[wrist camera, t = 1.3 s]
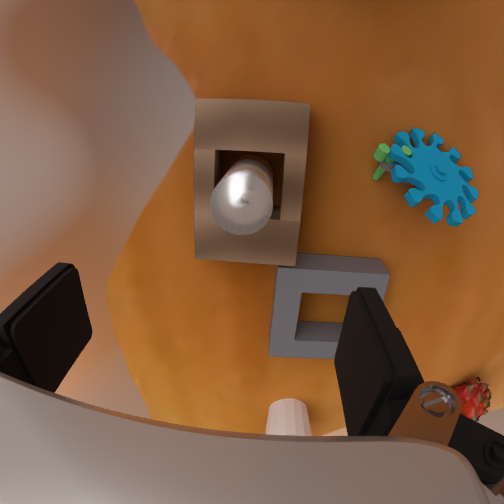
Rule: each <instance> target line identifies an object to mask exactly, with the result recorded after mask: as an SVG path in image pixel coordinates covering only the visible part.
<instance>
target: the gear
mask: <svg viewBox="0 0 504 504" xmlns="http://www.w3.org/2000/svg"><path fill="white" fill-rule="evenodd" d="M424 136H425V133H424V131H423V130H421V129H418V128H415V127H414V128H413V129H412V131H411V132H410V137H411V138H412V140H413V141H414V144H415V148H414V147H413V146H412V145H411V144H410V137H409V135H408V133H406V132H404V131H402V132H398V133H397V134H396V136H395V137H394V141H395V142H396V143H397V144H398V145H397V144H393V145H392V147H391V148H389V147H388V145H386V144H384V143H381V144H380V145H379V146H378V148H377V149H376V151H375V152H374V154H373V156H374V158H375V159H376V160H377V161H378V164H379V167H378V168H377V169H376V171H375V172H374V174H373V175H372V177H373V179H374V180H379V179H380V177H381V176H382V175H383V173H384V172H385V171H388V172H390V173H391V177H392V181H394V182H395V183H401V182H407V183H410V184H413V185H415V186H416V188H411V189H409V190H408V192H407V193H406V194H405V195H404V196H405V198H406V200H407V202H408V203H409V205H410V206H411V207H415V206H416V205H417V204H418V203H419V202H420V201H421V200H422V199H431V200H432V201H433V202H434V204H435V205H433V206H432V207H430V208H429V209H428V210H427V211H426V217H427V218H428V219H429V220H430V221H432V222H433V223H435V224H436V223H437V222H439V221H440V220H441V219H442V218H443V205H444V204H446V205H447V206H448V207H449V209H450V213H449V214H448V216H447V223H448V224H449V225H451V226H455V227H457V226H459V225H460V224H461V223H463V218H464V219H467V218H469V217H470V216H471V215H473V214H474V213H475V212H476V210H475V208H474V206H473V205H472V204H471V203H472V202H474V201H475V200H476V199H477V198H478V190H477V189H476V188H474V187H472V186H470V185H469V184H467V183H466V182H469V181H470V180H472V179H473V174H472V171H471V169H470V168H469V167H460V166H458V165H456V164H455V163H456V162H457V161H458V160H459V159H460V158H461V155H460V154H459V152H458V151H457V150H456V148H454V147H453V148H451V149H450V151H449V152H441V151H440V150H439V149H438V148H439V147H440V146H441V145H442V144H443V142H444V141H443V139H442V138H441V137H440V136H438V135H437V134H436V133H434V134H433V135H432V136H431V137H430V139H429V142H430V146H426V145H425V144H424V143H423V142H422V139H423V137H424ZM453 162H454V163H453ZM457 201H458V202H459V204H460V206H461V214H460V211H459V209H458V203H457ZM462 217H463V218H462Z"/></svg>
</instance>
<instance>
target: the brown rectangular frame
mask: <svg viewBox="0 0 504 504" xmlns="http://www.w3.org/2000/svg"><path fill="white" fill-rule="evenodd" d="M310 106H311V104H307V103H297V102H285V101H272V100H253V99H195V132H194V236H195V259H203V260H216V261H229V262H243V263H257V264H271V265H285V266H295V264H296V255H297V247H298V238H299V229H300V220H301V211H302V201H303V191H304V180H305V169H306V158H307V146H308V134H309V120H310ZM222 150H236V151H256V152H272V153H283V165H282V179H281V192H280V205H279V206H273V210H272V214H271V217H270V219H269V221H268V222H267V224H266V225H265V226H264V227H263V228H262V229H260V230H259V231H257V232H255V233H252V234H249V235H236V234H232V233H229V232H227V231H225V230H224V229H222V228H221V227H220V226H219V225H218V224H217V223H216V222H215V220H214V218H213V216H212V214H211V210H210V198H211V195H212V192H213V190H214V189H215V187H216V186H217V184H218V183H219V182H220V181H221V179H222Z"/></svg>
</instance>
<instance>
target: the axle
mask: <svg viewBox="0 0 504 504" xmlns="http://www.w3.org/2000/svg"><path fill="white" fill-rule="evenodd" d="M210 210H211V214H212V216H213V218H214V220H215V222H216V223H217V224H218V225H219V226H220V227H221V228H222V229H224V230H225V231H227V232H229V233H232V234H236V235H249V234H252V233H255V232H257V231H259V230H260V229H262V228H263V227H264V226H265V225H266V224H267V222H268V221H269V219H270V217H271V214H272V210H273V171H272V168H271V166H270V164H269V163H268V162H267V161H266V160H265V159H264V158H262V157H260V156H257V155H246V156H243V157H241V158H239V159H238V160H237V161H236V162H235V163H234V164H233V165H232V167H231V168H230V169H229V170H228V172H227V173H226V174H225V175H224V177H223V178H222V179H221V181H220V182H219V183H218V184H217V186H216V187H215V189H214V190H213V192H212V195H211V198H210Z"/></svg>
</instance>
